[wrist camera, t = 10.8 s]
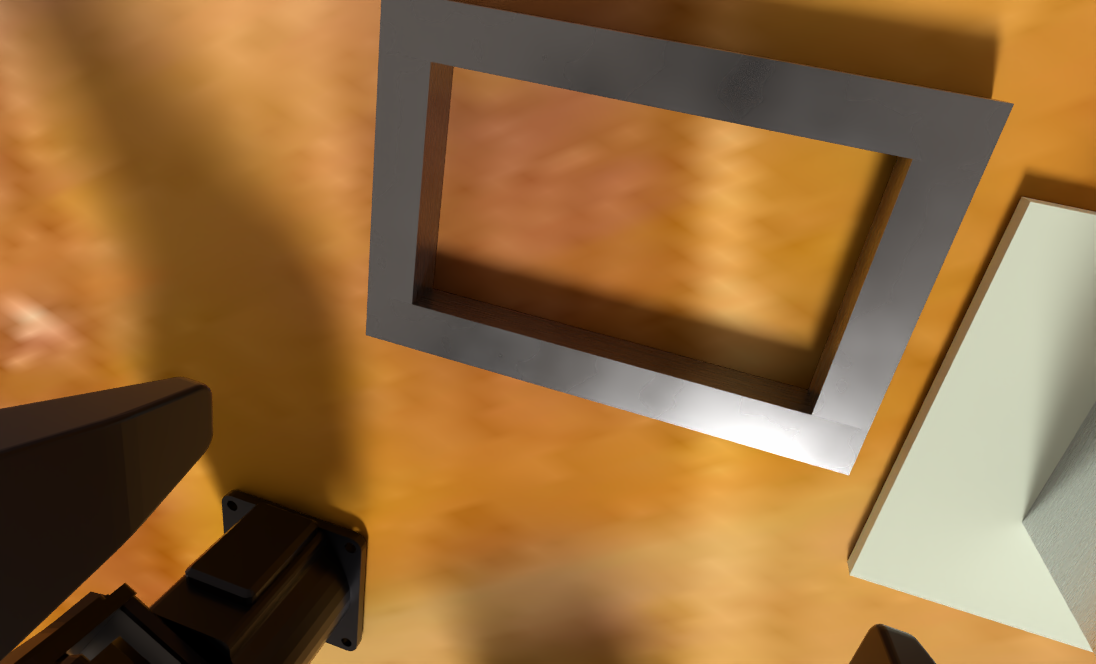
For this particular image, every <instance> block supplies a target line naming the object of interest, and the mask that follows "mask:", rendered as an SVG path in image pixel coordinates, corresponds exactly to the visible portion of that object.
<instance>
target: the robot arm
mask: <svg viewBox="0 0 1096 664" xmlns="http://www.w3.org/2000/svg"><path fill="white" fill-rule="evenodd" d="M212 436H213V410H212V392H211V390H210V388H209V387H208V386H207V385H205V384H203V383H200V382H197V381H194V380H191V379H189V378H185V377H175V378H169V379H164V380H158V381H152V382H147V383H141V384H136V385H130V386H125V387H119V388H113V389H108V390H102V391H97V392H91V393H86V394H80V395H75V396H69V397H63V398H58V399H52V400H47V401H41V402H36V403H30V404H24V405H19V406H13V407H8V408H2V409H0V664H310V662H311V661H312V660H313V658H314V657H315V655H316V654H317V653H318V651H319V650H320V649H321V647H322V646H323V644H324V643H325V642H327V643H329V644H332V645H334V646H337V647H339V648H342V649H345V650H348V651H354V650H355V649H356V648H357V646H358V645H359V643H360V642H361V639H362V621H363V603H364V585H365V567H366V549H367V544H366V541H365V539H364V537H363V536H361V535H360V534H359V533H357V532H354V531H351V530H349V529H346V528H343V527H340V526H337V525H334V524H332V523H329V522H326V521H323V520H320V519H317V518H315V517H312V516H309V515H306V514H303V513H300V512H298V511H295V510H292V509H289V508H286V507H283V506H280V505H278V504H275V503H272V502H269V501H266V500H263V499H261V498H258V497H255V496H252V495H249V494H246V493H244V492H241V491H238V490H232V491H230V492H229V493H228V494H227V495H226V496H225V497H224V498H223V499H222V510H223V525H224V535H223V536H222V537H220V538H219V539H218V540H217V541H216V542H215V543H214V544H213V545H212V546H211V547H210V548H209V549H207V550H206V551H205V552H204V553H203V554H202V555H201V556H200V557H199V558H198V559H197V560H195V561H194V562H193V563H192V564H191V565H190V566H189V567H188V568H187V569H186V571H185V573H186V574H185V575H184V576H183V577H182V578H181V579H180V580H178V581H177V582H176V583H175V584H174V585H173V586H172V587H171V588H170V589H169V590H168V591H167V592H165V593H164V594H163V595H162V596H161V597H160V598H159V599H158V600H157V601H156V602H155V603H154V604H153V605H151V606H150V607H149V608H148V607H147V606H146V605H145V604H144V603H143V602H142V601H141V600H140V599H138V598H137V597H136V596H135V595H136V594H137V593H136V592H135V591H134V590H133V589H132V588H131V587H130V586H129V585H127V584H126V583H124V584H123V585H122V586H120V587H119V588H118V589H117V590H115V591H114V592H113V593H112V594H110V595H109V594H107V595H103V594H98V593H94V592H90V593H89V594H87V595H86V596H85V597H84V598H82V599H81V600H80V601H79V602H78V603H76V604H75V605H74V606H73V607H72V608H70V609H69V610H68V611H67V612H65V613H64V614H63V615H62V616H60V617H59V618H58V619H57V620H56V621H54V622H53V623H52V624H50V625H49V626H48V627H46V628H45V629H44V630H42V631H41V632H40V633H38V634H37V635H35V636H34V637H32V638H31V639H29V640H28V641H26V642H25V643H23V644H22V645H20V646H19V647H17V648H16V649H14V648H15V647H16V646H17V645H18V644H19V643H20V642H22V641H23V640H24V639H25V638H26V637H27V636H28V635H29V634H30V633H31V632H32V631H33V630H34V629H35V628H36V627H37V626H38V625H39V624H40V623H41V622H43V621H44V620H45V619H46V618H47V617H48V616H49V615H50V614H51V613H52V612H53V611H54V610H55V609H56V608H57V607H58V606H59V605H60V604H61V603H62V602H64V601H65V600H66V599H67V598H68V597H69V596H70V595H71V594H72V593H73V592H74V591H75V590H76V589H77V588H78V587H79V586H80V585H81V584H82V583H83V582H84V581H86V580H87V579H88V578H89V577H90V576H91V575H92V574H93V573H94V572H95V571H96V570H97V569H98V568H99V567H100V566H101V565H102V564H103V563H104V562H105V561H107V560H108V559H109V558H110V557H111V556H112V555H113V554H114V553H115V552H116V551H117V550H118V549H119V548H120V547H121V546H122V545H123V544H124V543H125V542H126V541H127V540H128V539H129V538H130V537H131V536H132V535H133V534H134V533H135V532H136V531H137V529H138V528H139V527H140V526H141V525H142V524H143V523H144V522H145V521H146V520H147V518H148V517H149V516H150V515H151V514H152V513H153V512H154V510H155V509H156V508H157V507H158V506H159V505H160V504H161V502H162V501H163V500H164V499H165V498H166V497H167V495H168V494H169V493H170V492H171V491H172V490H173V489H174V487H175V486H176V485H177V484H178V483H179V482H180V481H181V479H182V478H183V477H184V476H185V475H186V474H187V472H188V471H189V470H190V469H191V468H192V467H193V466H194V464H195V463H196V462H197V461H198V460H199V459H200V458H201V456H202V455H203V454H204V453H205V452H206V450H207V449H208V447H209V445H210V443H211V440H212ZM352 544H353V545H352ZM13 649H14V650H13ZM12 650H13V651H12ZM11 651H12V652H11ZM849 664H936V663H935V662H934V660H933V659H932V658H931V657H930V655H929V654H928V653H927V652H926V650H925V649H924V648H923V647H922V645H921V644H920V643H919V642H918V641H917V639H916V638H915V637H913V636H912V635H910V634H908V633H906V632H903V631H900V630H897V629H894V628H892V627H889V626H886V625H883V624H876V625H874V626H873V627H871V628H870V630H869V631H868V632H867V634H866V636H865V638H864V639H863V641H862V643H861V644H860V646H859V648H858V649H857V651H856V653H855V655H854V656H853V658H852V660H851V661H850V663H849Z"/></svg>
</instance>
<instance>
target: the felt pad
mask: <svg viewBox="0 0 1096 664" xmlns="http://www.w3.org/2000/svg"><path fill="white" fill-rule="evenodd" d="M1095 402H1096V212H1095V211H1090V210H1085V209H1080V208H1075V207H1070V206H1065V205H1061V204H1056V203H1051V202H1046V201H1041V200H1036V199H1031V198H1027V197H1021V199H1020V201H1019V203H1018V205H1017V207H1016V210H1015V212H1014V214H1013V216H1012V218H1011V220H1010V222H1009V224H1008V226H1007V228H1006V231H1005V233H1004V235H1003V237H1002V239H1001V241H1000V243H999V245H998V247H997V249H996V251H995V254H994V256H993V258H992V260H991V262H990V264H989V266H988V268H987V270H986V272H985V275H984V277H983V279H982V281H981V283H980V285H979V287H978V289H977V291H976V293H975V295H974V298H973V300H972V302H971V304H970V306H969V308H968V310H967V312H966V314H965V316H964V319H963V321H962V323H961V325H960V327H959V329H958V331H957V333H956V335H955V337H954V340H953V342H952V344H951V346H950V348H949V350H948V352H947V354H946V356H945V358H944V360H943V363H942V365H941V367H940V369H939V371H938V373H937V375H936V377H935V379H934V381H933V384H932V386H931V388H930V390H929V392H928V394H927V396H926V398H925V400H924V402H923V404H922V407H921V409H920V411H919V413H918V415H917V417H916V419H915V421H914V423H913V425H912V428H911V430H910V432H909V434H908V436H907V438H906V440H905V442H904V444H903V446H902V448H901V451H900V453H899V455H898V457H897V459H896V461H895V463H894V465H893V467H892V469H891V472H890V474H889V476H888V478H887V480H886V482H885V484H884V486H883V488H882V490H881V493H880V495H879V497H878V499H877V501H876V503H875V505H874V507H873V509H872V511H871V513H870V516H869V518H868V520H867V522H866V524H865V526H864V528H863V530H862V532H861V534H860V537H859V539H858V541H857V543H856V545H855V547H854V549H853V551H852V553H851V555H850V557H849V560H848V562H847V563H848V568H849V574H850V575H851V576H854V577H857V578H860V579H864V580H867V581H870V582H873V583H876V584H879V585H883V586H886V587H889V588H892V589H895V590H898V591H901V592H905V593H908V594H911V595H914V596H917V597H920V598H924V599H927V600H930V601H933V602H936V603H939V604H942V605H946V606H949V607H952V608H955V609H958V610H961V611H964V612H968V613H971V614H974V615H977V616H980V617H983V618H987V619H990V620H993V621H996V622H999V623H1002V624H1005V625H1009V626H1012V627H1015V628H1018V629H1021V630H1024V631H1027V632H1031V633H1034V634H1037V635H1040V636H1043V637H1046V638H1050V639H1053V640H1056V641H1059V642H1062V643H1065V644H1068V645H1072V646H1075V647H1078V648H1081V649H1084V650H1087V651H1091V652H1093V651H1092V649H1091V647H1090V645H1089V643H1088V642H1087V640H1086V638H1085V636H1084V634H1083V633H1082V631H1081V629H1080V627H1079V625H1078V623H1077V622H1076V620H1075V618H1074V616H1073V614H1072V613H1071V611H1070V609H1069V607H1068V605H1067V603H1066V602H1065V600H1064V598H1063V596H1062V594H1061V593H1060V591H1059V589H1058V587H1057V585H1056V583H1055V582H1054V580H1053V578H1052V576H1051V574H1050V573H1049V571H1048V569H1047V567H1046V565H1045V563H1044V562H1043V560H1042V558H1041V556H1040V554H1039V553H1038V551H1037V549H1036V547H1035V545H1034V544H1033V542H1032V540H1031V538H1030V536H1029V534H1028V533H1027V531H1026V529H1025V527H1024V525H1023V524H1022V521H1023V520H1024V518H1025V516H1026V515H1027V513H1028V511H1029V510H1030V508H1031V506H1032V505H1033V503H1034V502H1035V500H1036V498H1037V497H1038V495H1039V493H1040V492H1041V490H1042V488H1043V487H1044V485H1045V484H1046V482H1047V480H1048V479H1049V477H1050V475H1051V474H1052V472H1053V470H1054V469H1055V467H1056V466H1057V464H1058V462H1059V461H1060V459H1061V457H1062V456H1063V454H1064V452H1065V451H1066V449H1067V448H1068V446H1069V444H1070V443H1071V441H1072V439H1073V438H1074V436H1075V434H1076V433H1077V431H1078V430H1079V428H1080V426H1081V425H1082V423H1083V421H1084V420H1085V418H1086V416H1087V415H1088V413H1089V412H1090V410H1091V408H1092V407H1093V405H1094V403H1095Z"/></svg>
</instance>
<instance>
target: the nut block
mask: <svg viewBox="0 0 1096 664" xmlns="http://www.w3.org/2000/svg"><path fill="white" fill-rule="evenodd" d="M1022 524H1023V525H1024V527H1025V529H1026V531H1027V533H1028V534H1029V536H1030V538H1031V540H1032V542H1033V544H1034V545H1035V547H1036V549H1037V551H1038V553H1039V554H1040V556H1041V558H1042V560H1043V562H1044V563H1045V565H1046V567H1047V569H1048V571H1049V573H1050V574H1051V576H1052V578H1053V580H1054V582H1055V583H1056V585H1057V587H1058V589H1059V591H1060V593H1061V594H1062V596H1063V598H1064V600H1065V602H1066V603H1067V605H1068V607H1069V609H1070V611H1071V613H1072V614H1073V616H1074V618H1075V620H1076V622H1077V623H1078V625H1079V627H1080V629H1081V631H1082V633H1083V634H1084V636H1085V638H1086V640H1087V642H1088V643H1089V645H1090V647H1091V649H1092V651H1093V652H1094V654H1095V656H1096V402H1095V403H1094V405H1093V407H1092V408H1091V410H1090V412H1089V413H1088V415H1087V416H1086V418H1085V420H1084V421H1083V423H1082V425H1081V426H1080V428H1079V430H1078V431H1077V433H1076V434H1075V436H1074V438H1073V439H1072V441H1071V443H1070V444H1069V446H1068V448H1067V449H1066V451H1065V452H1064V454H1063V456H1062V457H1061V459H1060V461H1059V462H1058V464H1057V466H1056V467H1055V469H1054V470H1053V472H1052V474H1051V475H1050V477H1049V479H1048V480H1047V482H1046V484H1045V485H1044V487H1043V488H1042V490H1041V492H1040V493H1039V495H1038V497H1037V498H1036V500H1035V502H1034V503H1033V505H1032V506H1031V508H1030V510H1029V511H1028V513H1027V515H1026V516H1025V518H1024V520H1023V521H1022Z"/></svg>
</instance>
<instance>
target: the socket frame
mask: <svg viewBox="0 0 1096 664" xmlns="http://www.w3.org/2000/svg"><path fill="white" fill-rule="evenodd" d="M453 66H454V67H459V68H464V69H469V70H474V71H479V72H484V73H489V74H494V75H499V76H504V77H509V78H514V79H519V80H524V81H529V82H533V83H538V84H543V85H548V86H553V87H558V88H563V89H568V90H573V91H578V92H583V93H588V94H593V95H598V96H603V97H608V98H613V99H618V100H623V101H628V102H632V103H637V104H642V105H647V106H652V107H657V108H662V109H667V110H672V111H677V112H682V113H687V114H692V115H697V116H702V117H707V118H712V119H717V120H722V121H726V122H731V123H736V124H741V125H746V126H751V127H756V128H761V129H766V130H771V131H776V132H781V133H786V134H791V135H796V136H801V137H806V138H811V139H816V140H821V141H825V142H830V143H835V144H840V145H845V146H850V147H855V148H860V149H865V150H870V151H875V152H880V153H885V154H890V155H895V156H898V157H897V160H896V163H895V165H894V168H893V170H892V173H891V176H890V178H889V181H888V183H887V186H886V189H885V191H884V194H883V196H882V199H881V202H880V204H879V207H878V209H877V212H876V215H875V217H874V220H873V222H872V225H871V228H870V230H869V233H868V235H867V238H866V241H865V243H864V246H863V248H862V251H861V254H860V256H859V259H858V261H857V264H856V267H855V269H854V272H853V274H852V277H851V280H850V282H849V285H848V287H847V290H846V293H845V295H844V298H843V300H842V303H841V306H840V308H839V311H838V313H837V316H836V319H835V321H834V324H833V326H832V329H831V332H830V334H829V337H828V339H827V342H826V345H825V347H824V350H823V352H822V355H821V358H820V360H819V363H818V365H817V368H816V371H815V373H814V376H813V378H812V381H811V384H810V386H809V389H808V390H806V389H802V388H798V387H795V386H791V385H787V384H784V383H780V382H776V381H773V380H769V379H765V378H761V377H758V376H754V375H750V374H747V373H743V372H739V371H736V370H732V369H728V368H724V367H721V366H717V365H713V364H710V363H706V362H702V361H699V360H695V359H691V358H688V357H684V356H680V355H676V354H673V353H669V352H665V351H662V350H658V349H654V348H651V347H647V346H643V345H639V344H636V343H632V342H628V341H625V340H621V339H617V338H614V337H610V336H606V335H603V334H599V333H595V332H591V331H588V330H584V329H580V328H577V327H573V326H569V325H566V324H562V323H558V322H555V321H551V320H547V319H543V318H540V317H536V316H532V315H529V314H525V313H521V312H518V311H514V310H510V309H506V308H503V307H499V306H495V305H492V304H488V303H484V302H481V301H477V300H473V299H470V298H466V297H462V296H458V295H455V294H451V293H447V292H444V291H440V290H436V289H433V282H434V271H435V260H436V249H437V238H438V227H439V216H440V205H441V195H442V184H443V173H444V162H445V151H446V140H447V129H448V118H449V108H450V97H451V86H452V75H453ZM1013 105H1014V104H1012V103H1008V102H1004V101H999V100H995V99H991V98H985V97H980V96H974V95H969V94H963V93H958V92H952V91H947V90H941V89H936V88H930V87H925V86H919V85H914V84H908V83H903V82H897V81H892V80H886V79H881V78H875V77H870V76H864V75H859V74H853V73H848V72H842V71H837V70H831V69H826V68H820V67H815V66H810V65H804V64H799V63H793V62H788V61H782V60H777V59H771V58H766V57H760V56H755V55H749V54H744V53H738V52H733V51H727V50H722V49H716V48H711V47H705V46H700V45H694V44H689V43H683V42H678V41H672V40H667V39H661V38H656V37H650V36H645V35H639V34H634V33H628V32H623V31H618V30H612V29H607V28H601V27H596V26H590V25H585V24H579V23H574V22H568V21H563V20H557V19H552V18H546V17H541V16H535V15H530V14H524V13H519V12H513V11H508V10H502V9H497V8H491V7H486V6H480V5H475V4H469V3H464V2H458V1H453V0H381V19H380V41H379V63H378V84H377V106H376V128H375V150H374V171H373V193H372V215H371V236H370V258H369V280H368V301H367V323H366V335H368V336H371V337H375V338H378V339H381V340H385V341H388V342H392V343H395V344H399V345H402V346H406V347H409V348H412V349H416V350H419V351H423V352H426V353H430V354H433V355H437V356H440V357H443V358H447V359H450V360H454V361H457V362H461V363H464V364H467V365H471V366H474V367H478V368H481V369H485V370H488V371H492V372H495V373H498V374H502V375H505V376H509V377H512V378H516V379H519V380H523V381H526V382H529V383H533V384H536V385H540V386H543V387H547V388H550V389H554V390H557V391H560V392H564V393H567V394H571V395H574V396H578V397H581V398H584V399H588V400H591V401H595V402H598V403H602V404H605V405H609V406H612V407H615V408H619V409H622V410H626V411H629V412H633V413H636V414H640V415H643V416H646V417H650V418H653V419H657V420H660V421H664V422H667V423H671V424H674V425H677V426H681V427H684V428H688V429H691V430H695V431H698V432H701V433H705V434H708V435H712V436H715V437H719V438H722V439H726V440H729V441H732V442H736V443H739V444H743V445H746V446H750V447H753V448H757V449H760V450H763V451H767V452H770V453H774V454H777V455H781V456H784V457H788V458H791V459H794V460H798V461H801V462H805V463H808V464H812V465H815V466H818V467H822V468H825V469H829V470H832V471H836V472H839V473H843V474H846V475H849V474H850V472H851V469H852V467H853V465H854V463H855V460H856V458H857V456H858V454H859V451H860V449H861V447H862V445H863V442H864V440H865V438H866V436H867V433H868V431H869V429H870V427H871V424H872V422H873V420H874V418H875V415H876V413H877V411H878V409H879V406H880V404H881V402H882V400H883V397H884V395H885V393H886V391H887V388H888V386H889V384H890V382H891V379H892V377H893V375H894V373H895V370H896V368H897V366H898V364H899V361H900V359H901V357H902V355H903V352H904V350H905V348H906V346H907V343H908V341H909V339H910V337H911V334H912V332H913V330H914V328H915V325H916V323H917V321H918V319H919V316H920V314H921V312H922V310H923V307H924V305H925V303H926V301H927V298H928V296H929V294H930V292H931V289H932V287H933V285H934V283H935V280H936V278H937V276H938V274H939V271H940V269H941V267H942V265H943V262H944V260H945V258H946V256H947V253H948V251H949V249H950V247H951V244H952V242H953V240H954V238H955V235H956V233H957V231H958V229H959V226H960V224H961V222H962V220H963V217H964V215H965V213H966V211H967V208H968V206H969V204H970V202H971V199H972V197H973V195H974V193H975V190H976V188H977V186H978V184H979V181H980V179H981V177H982V175H983V172H984V170H985V168H986V166H987V163H988V161H989V159H990V157H991V154H992V152H993V150H994V148H995V145H996V143H997V141H998V139H999V136H1000V134H1001V132H1002V130H1003V127H1004V125H1005V123H1006V121H1007V118H1008V116H1009V114H1010V112H1011V109H1012V107H1013Z"/></svg>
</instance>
